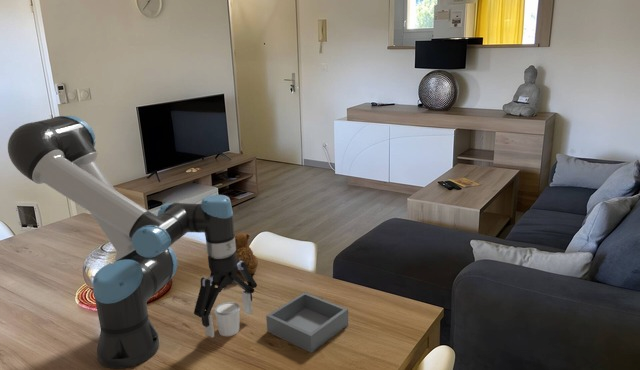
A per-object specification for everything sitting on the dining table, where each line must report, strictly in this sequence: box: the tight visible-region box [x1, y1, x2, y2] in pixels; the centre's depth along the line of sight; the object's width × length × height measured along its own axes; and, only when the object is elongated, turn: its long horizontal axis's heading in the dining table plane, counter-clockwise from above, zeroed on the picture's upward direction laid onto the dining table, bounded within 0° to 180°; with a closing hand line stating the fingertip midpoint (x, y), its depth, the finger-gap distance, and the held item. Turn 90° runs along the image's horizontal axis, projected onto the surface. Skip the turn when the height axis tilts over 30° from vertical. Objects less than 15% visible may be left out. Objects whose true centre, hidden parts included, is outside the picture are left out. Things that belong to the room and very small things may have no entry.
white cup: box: [213, 301, 241, 337], centre depth 135 cm, size 7×7×7 cm
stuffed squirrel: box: [235, 232, 258, 275], centre depth 170 cm, size 10×14×13 cm
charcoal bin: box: [265, 291, 349, 354], centre depth 135 cm, size 16×16×5 cm
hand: (229, 323), depth 135 cm, fingers open, 13 cm apart
